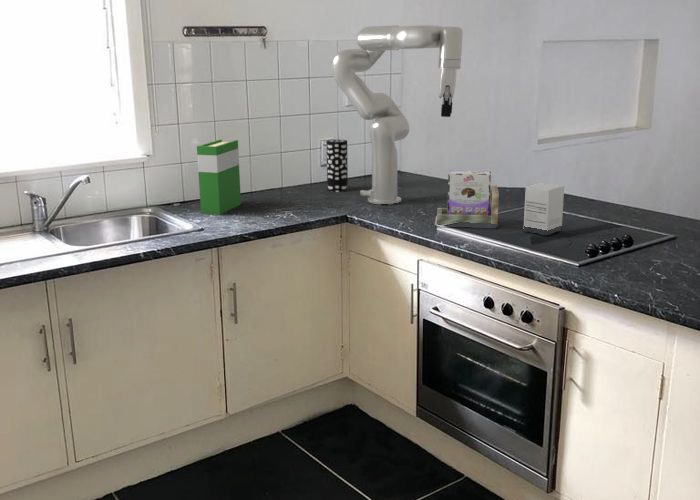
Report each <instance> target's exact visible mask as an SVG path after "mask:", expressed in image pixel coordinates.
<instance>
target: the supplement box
mask: <svg viewBox="0 0 700 500" xmlns="http://www.w3.org/2000/svg"><path fill="white" fill-rule="evenodd" d="M564 196H565V186H564V185H563V184H561V185H560V184H554V183H546V182H538V183H534V184H531V185H526V186H525V194H524V197H525V198H524V212H523V213H524V214H523V215H524V216H523V227H524V226H525V227H531V228H537V229H542V230H547V231H548V230H551V229H554V228H556V227H559V226H562V227H563V216H564V215H563V212H564Z"/></svg>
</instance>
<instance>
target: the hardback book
mask: <svg viewBox="0 0 700 500" xmlns="http://www.w3.org/2000/svg"><path fill="white" fill-rule="evenodd" d="M196 153H197V154H196V157H197V171H198V172H197V173H198V188H199V203H200V214H203V215H206V214H207V215H217V216H218V215H219V216H220V215H223V214H225V213H226V212H229V211H231V210H232V209H234V208H236V207H238V206H240V205H242V200H241V199H242V197H241V176H240V157H239V156H240V155H239V140H238V139H235V140H231V141H222V139H217V140H214V141H213V140H212V141H210V142H207V143H204V144H200V145H197V146H196Z"/></svg>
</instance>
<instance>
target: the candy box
mask: <svg viewBox="0 0 700 500" xmlns="http://www.w3.org/2000/svg"><path fill="white" fill-rule="evenodd" d="M491 175H492V171H491V170H490V171H489V170H488V171H486V170H485V171H484V170H483V171H481V170H449V172H448V175H447V177H448V178H447V182H448V183H447V208H448V214H451V215H489V214H490V194H491V185H492V182H491V181H492V178H491V177H492V176H491Z"/></svg>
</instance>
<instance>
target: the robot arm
mask: <svg viewBox="0 0 700 500" xmlns="http://www.w3.org/2000/svg"><path fill="white" fill-rule="evenodd" d="M463 31H464V30H463V28H462V27H459V26H443V25H442V26H441V25H433V24H432V25H430V24H429V25H427V24H425V25H404V26H403V25H402V26H401V25H375V26H374V25H373V26H372V25H371V26H365V27H363V28H361V29H360V30H359V31H358V32H357V34H356V44H357V45H358V47H359V48H349V49H343V50H340V51H338V52H337V53H335V55H334V56H333V58H332V60H331V67H330V68H331V74H332V77H333V80H334V81H335V83H336V85H337V86H338V88H340V90H341V91H342V92H343V94H344V95H345V96H346V98H347V99H348V101H349V102H350V104H351V105H352V107H353V108H354V109H355V111H356V112H357V114H358V115H359V116H360V118H362V119H363V120H366V121H369V120H370V121H371V120H373V122H372V123H371V124H370V127H369V138H370V146H371V189H368V190H366V189H365V190H361V189H360V191H359V193H360V194H359V195H360V196H362V197H368V198H367V202H368V203H370V204H372V205H373V204H374V205H381V204H388V205H394V204H393V203H397V204H400V203H401V202H402V198H401V197H400V196H398V150H397V146H396V143H395V142H397V141H401V140H404V139H405V138H406V137H407V136H408V135H409V133H410V124H409V121H408V119H407V118H406V116H405V115H404V113H403V112H402V111H401V110H400V107H398V105H397V103H395V101H394V100H393V99H392V97H390V96H389V95H388V94H386V93H384V92H373V91H371V89H370V88H369V87H368V85H367V84H366V82H365V81H364V80H363V79H362V78H361V77H360V76H358V74H356V73H364V72H366V71H369V70H370V69H371V68H372V67H373V66H374V65H375V64H376V62H377V61H378V60H379V59H380V58H382V56H383V55H384V53H385V52H386V51H399V50H407V49H408V50H409V49H411V50H412V49H419V50H421V49H422V50H423V49H439V51H438V65H437V68H438V70H439V69H440V77H439V79H440V80H439V92H438V93H439V94H438V98H439V99H442V103H441V108H440V109H441V110H440V113H441V115H440V117H443V118H451V115H452V113H453V98H454V96H455V91H456V83H457V72H458V71H457V70H461V67H462V66H461V63H462V51H463V50H462V48H463V36H464V35H463V33H464V32H463ZM399 202H400V203H399Z"/></svg>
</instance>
